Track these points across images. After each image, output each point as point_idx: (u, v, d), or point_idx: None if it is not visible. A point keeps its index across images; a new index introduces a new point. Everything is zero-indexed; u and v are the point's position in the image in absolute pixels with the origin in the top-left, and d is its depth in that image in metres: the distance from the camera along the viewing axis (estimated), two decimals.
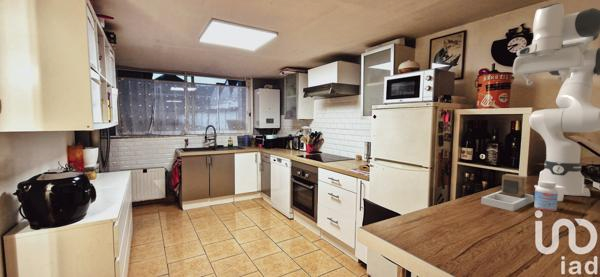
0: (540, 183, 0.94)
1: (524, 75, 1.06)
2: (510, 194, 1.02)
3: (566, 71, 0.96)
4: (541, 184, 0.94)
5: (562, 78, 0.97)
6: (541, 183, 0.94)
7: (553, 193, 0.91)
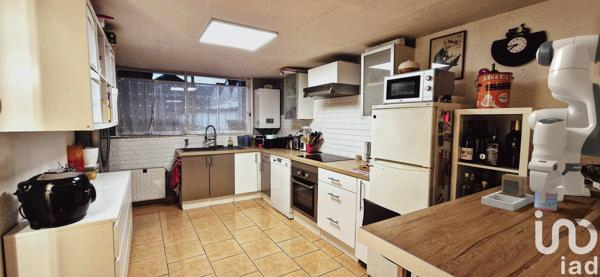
0: None
1: (545, 193, 0.90)
2: (510, 194, 1.02)
3: None
4: None
5: None
6: None
7: (553, 193, 0.91)
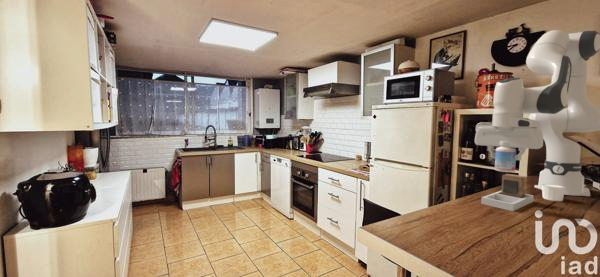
0: None
1: None
2: (510, 194, 1.02)
3: None
4: None
5: None
6: None
7: None
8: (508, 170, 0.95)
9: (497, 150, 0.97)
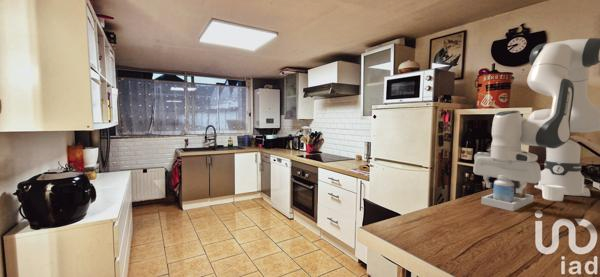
0: None
1: None
2: None
3: None
4: None
5: None
6: None
7: None
8: None
9: (495, 183, 0.98)
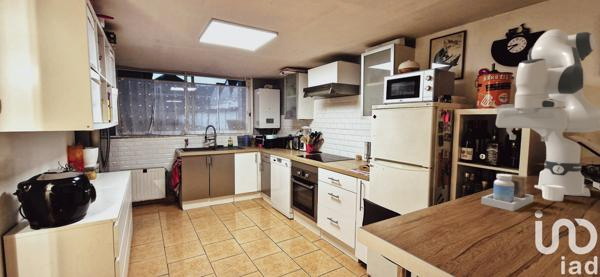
0: (509, 177, 0.95)
1: None
2: None
3: None
4: (509, 178, 0.95)
5: None
6: (510, 177, 0.95)
7: None
8: None
9: (495, 183, 0.98)
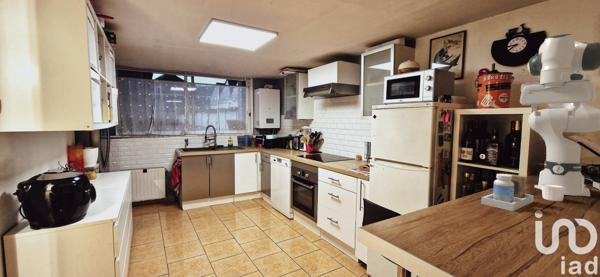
0: (509, 177, 0.95)
1: None
2: None
3: None
4: (509, 178, 0.96)
5: None
6: (509, 177, 0.95)
7: None
8: None
9: (495, 183, 0.98)
